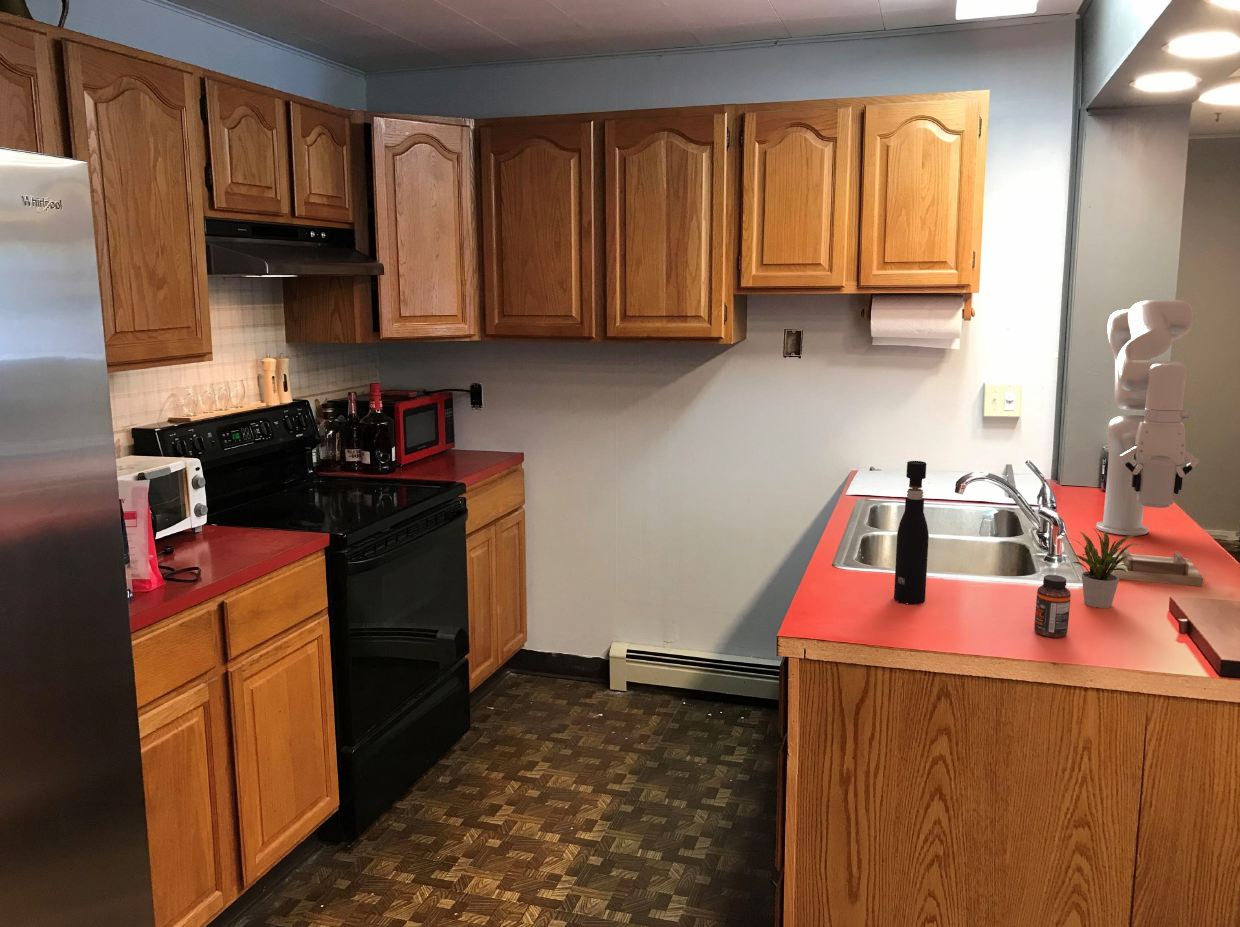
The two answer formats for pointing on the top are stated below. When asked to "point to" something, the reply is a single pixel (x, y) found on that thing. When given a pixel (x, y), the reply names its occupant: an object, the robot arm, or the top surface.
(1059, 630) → the supplement bottle
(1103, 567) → the house plant
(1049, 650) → the top surface
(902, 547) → the black insulated water bottle
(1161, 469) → the can
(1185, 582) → the dock
